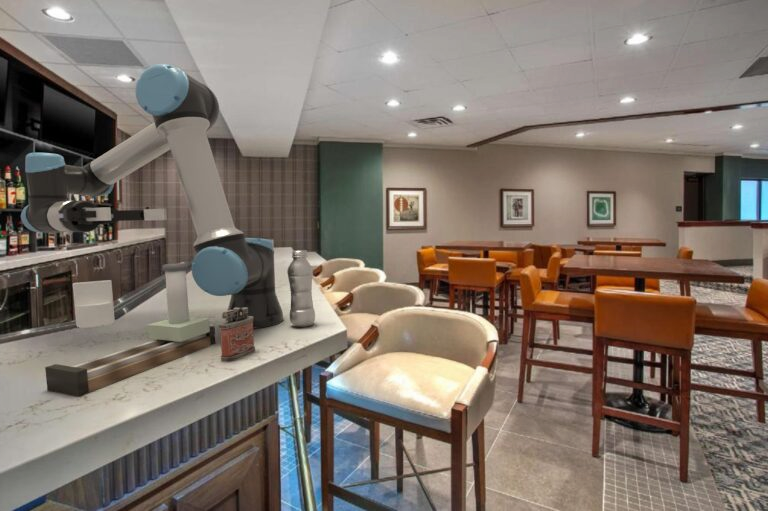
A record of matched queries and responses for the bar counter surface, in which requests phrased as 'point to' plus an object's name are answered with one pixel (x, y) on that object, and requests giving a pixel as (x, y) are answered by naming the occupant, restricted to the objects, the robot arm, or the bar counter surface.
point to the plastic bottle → (301, 290)
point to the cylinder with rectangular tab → (93, 303)
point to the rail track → (121, 364)
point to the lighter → (236, 334)
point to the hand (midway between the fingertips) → (139, 214)
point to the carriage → (177, 309)
